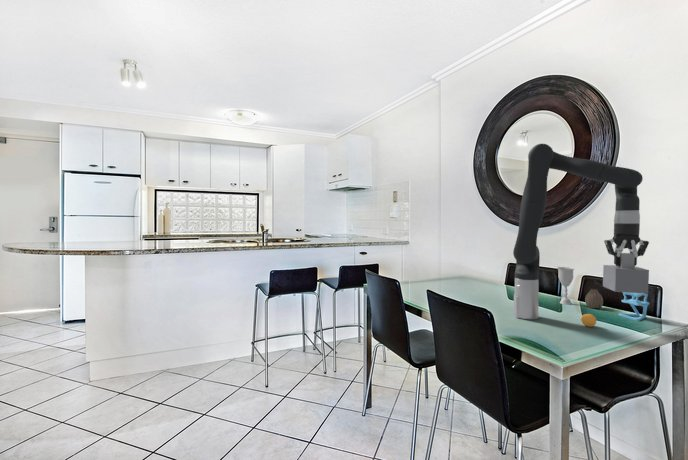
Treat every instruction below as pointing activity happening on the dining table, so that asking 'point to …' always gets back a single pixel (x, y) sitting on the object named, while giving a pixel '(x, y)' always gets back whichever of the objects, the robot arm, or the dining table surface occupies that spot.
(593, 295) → the vase
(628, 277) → the gray block
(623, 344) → the dining table surface
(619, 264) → the robot arm
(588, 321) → the ball
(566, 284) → the chalice
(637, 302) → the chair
